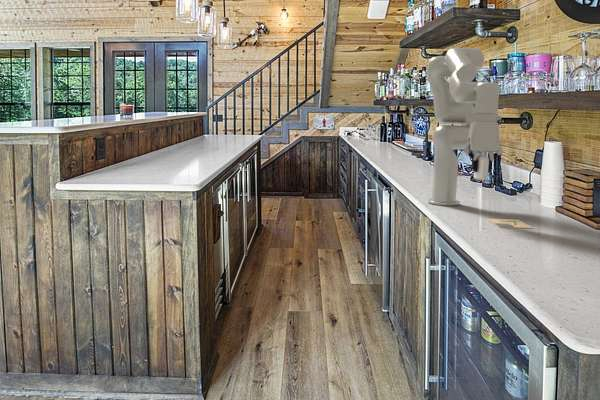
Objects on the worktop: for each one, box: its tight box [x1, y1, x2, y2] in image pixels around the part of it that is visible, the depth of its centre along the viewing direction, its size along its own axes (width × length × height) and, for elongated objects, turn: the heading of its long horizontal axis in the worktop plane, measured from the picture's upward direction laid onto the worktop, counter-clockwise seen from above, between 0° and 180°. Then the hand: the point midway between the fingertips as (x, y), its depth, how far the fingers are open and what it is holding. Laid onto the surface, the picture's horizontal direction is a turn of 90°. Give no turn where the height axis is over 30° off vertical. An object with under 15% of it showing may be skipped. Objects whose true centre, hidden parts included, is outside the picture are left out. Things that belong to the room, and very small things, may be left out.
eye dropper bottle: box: [473, 152, 489, 181], centre depth 208 cm, size 4×6×12 cm
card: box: [486, 218, 534, 230], centre depth 205 cm, size 14×11×1 cm
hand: (481, 171), depth 208 cm, fingers closed on eye dropper bottle, 3 cm apart
